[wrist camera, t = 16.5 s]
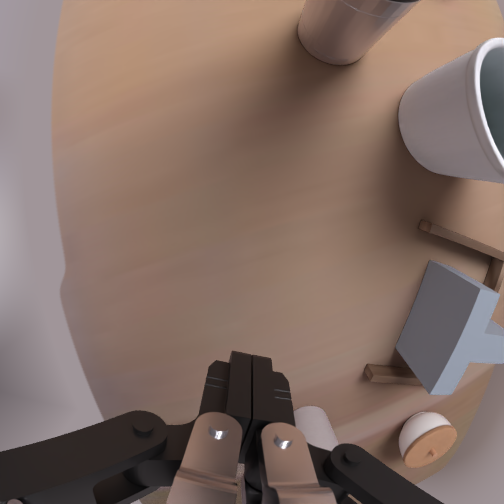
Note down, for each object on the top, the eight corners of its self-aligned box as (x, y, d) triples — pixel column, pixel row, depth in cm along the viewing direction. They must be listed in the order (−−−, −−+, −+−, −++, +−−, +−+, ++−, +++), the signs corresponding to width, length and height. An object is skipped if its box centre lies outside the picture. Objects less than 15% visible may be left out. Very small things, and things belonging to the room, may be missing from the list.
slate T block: (429, 259, 38) (480, 288, 27) (482, 276, 39) (530, 303, 27) (395, 347, 42) (429, 394, 30) (449, 353, 42) (486, 393, 31)
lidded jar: (436, 429, 47) (454, 459, 38) (389, 448, 48) (404, 481, 39) (443, 394, 45) (466, 425, 36) (392, 414, 45) (411, 450, 36)
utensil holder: (417, 195, 36) (508, 215, 19) (373, 88, 33) (449, 43, 16) (487, 161, 35) (574, 167, 18) (451, 67, 31) (530, 35, 14)
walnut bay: (420, 219, 37) (432, 223, 34) (499, 250, 38) (510, 255, 35) (364, 370, 42) (370, 381, 40) (446, 376, 43) (453, 385, 41)
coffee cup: (346, 411, 45) (371, 479, 30) (309, 443, 46) (321, 511, 32) (303, 390, 43) (320, 465, 29) (265, 425, 45) (269, 499, 31)
